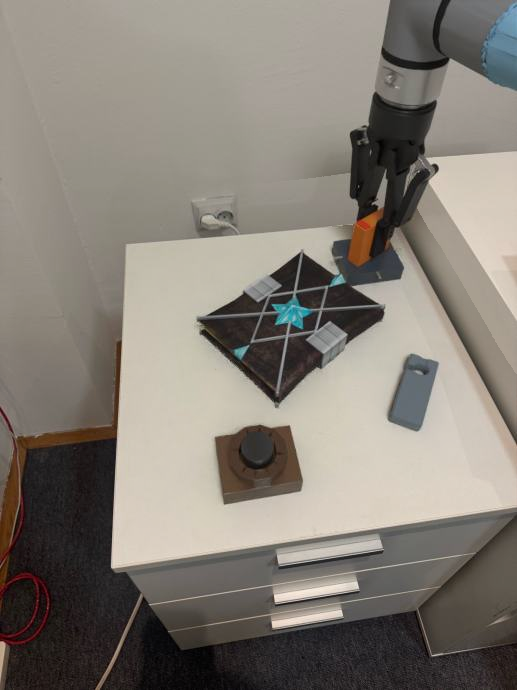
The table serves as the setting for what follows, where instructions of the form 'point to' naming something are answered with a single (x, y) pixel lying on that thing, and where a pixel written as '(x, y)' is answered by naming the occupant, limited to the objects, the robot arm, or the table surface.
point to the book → (290, 324)
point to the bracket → (414, 392)
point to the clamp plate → (367, 265)
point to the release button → (257, 449)
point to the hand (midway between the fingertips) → (369, 247)
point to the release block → (258, 482)
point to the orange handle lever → (364, 238)
